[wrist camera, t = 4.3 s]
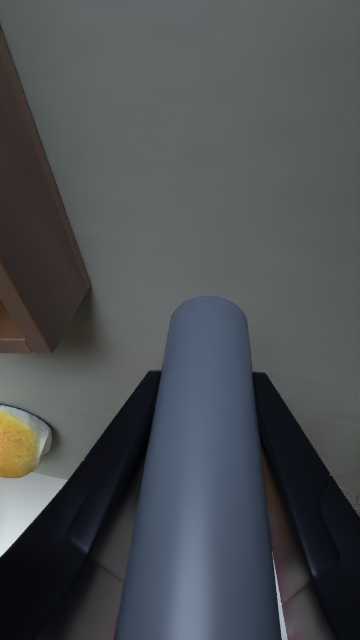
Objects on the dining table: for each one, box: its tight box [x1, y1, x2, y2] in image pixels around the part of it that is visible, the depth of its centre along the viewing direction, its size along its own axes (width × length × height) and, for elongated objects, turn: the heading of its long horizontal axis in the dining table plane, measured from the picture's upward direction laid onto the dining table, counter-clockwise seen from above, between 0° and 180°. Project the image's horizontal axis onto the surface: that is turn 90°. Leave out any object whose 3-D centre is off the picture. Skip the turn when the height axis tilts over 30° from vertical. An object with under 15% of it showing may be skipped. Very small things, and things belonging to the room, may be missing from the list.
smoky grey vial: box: [114, 296, 282, 640], centre depth 8 cm, size 3×3×10 cm
